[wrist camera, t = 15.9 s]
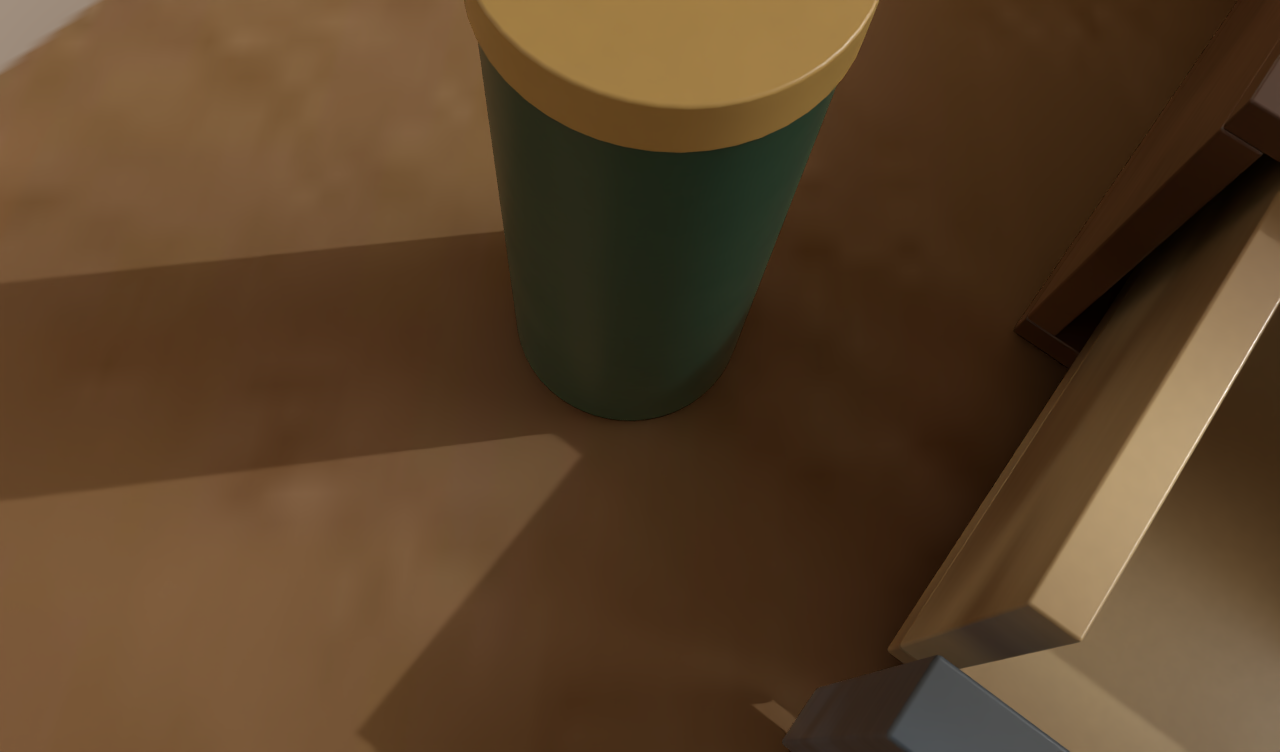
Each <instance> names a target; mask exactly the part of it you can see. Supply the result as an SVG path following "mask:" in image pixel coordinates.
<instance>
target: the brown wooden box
mask: <svg viewBox="0 0 1280 752" xmlns="http://www.w3.org/2000/svg"><path fill="white" fill-rule="evenodd" d="M1264 153H1265V154H1266V155H1268V156H1269V157H1271V158H1273V159H1274V160H1276V161H1278V162H1279V163H1280V0H1238V1H1237V3H1236V4H1235V6H1234V7H1233V9H1232V10H1231V12H1230V13H1229V15H1228V16H1227V18H1226V19H1225V20H1224V22H1223V23H1222V25H1221V26H1220V28H1219V29H1218V31H1217V32H1216V34H1215V35H1214V37H1213V38H1212V40H1211V41H1210V42H1209V44H1208V45H1207V47H1206V48H1205V50H1204V51H1203V53H1202V54H1201V56H1200V57H1199V59H1198V60H1197V61H1196V63H1195V64H1194V66H1193V67H1192V69H1191V70H1190V72H1189V73H1188V75H1187V76H1186V78H1185V79H1184V80H1183V82H1182V83H1181V85H1180V86H1179V88H1178V89H1177V91H1176V92H1175V94H1174V95H1173V97H1172V98H1171V100H1170V101H1169V102H1168V104H1167V105H1166V107H1165V108H1164V110H1163V111H1162V113H1161V114H1160V116H1159V117H1158V119H1157V120H1156V121H1155V123H1154V124H1153V126H1152V127H1151V129H1150V130H1149V132H1148V133H1147V135H1146V136H1145V138H1144V139H1143V140H1142V142H1141V143H1140V145H1139V146H1138V148H1137V149H1136V151H1135V152H1134V154H1133V155H1132V157H1131V158H1130V160H1129V161H1128V162H1127V164H1126V165H1125V167H1124V168H1123V170H1122V171H1121V173H1120V174H1119V176H1118V177H1117V179H1116V180H1115V181H1114V183H1113V184H1112V186H1111V187H1110V189H1109V190H1108V192H1107V193H1106V195H1105V196H1104V198H1103V199H1102V200H1101V202H1100V203H1099V205H1098V206H1097V208H1096V209H1095V211H1094V212H1093V214H1092V215H1091V217H1090V218H1089V220H1088V221H1087V222H1086V224H1085V225H1084V227H1083V228H1082V230H1081V231H1080V233H1079V234H1078V236H1077V237H1076V239H1075V240H1074V241H1073V243H1072V244H1071V246H1070V247H1069V249H1068V250H1067V252H1066V253H1065V255H1064V256H1063V258H1062V259H1061V260H1060V262H1059V263H1058V265H1057V266H1056V268H1055V269H1054V271H1053V272H1052V274H1051V275H1050V277H1049V278H1048V280H1047V281H1046V282H1045V284H1044V285H1043V287H1042V288H1041V290H1040V291H1039V293H1038V294H1037V296H1036V297H1035V299H1034V300H1033V301H1032V303H1031V304H1030V306H1029V307H1028V309H1027V310H1026V312H1025V313H1024V315H1023V316H1022V318H1021V319H1020V320H1019V322H1018V323H1017V325H1016V326H1015V328H1014V332H1016V333H1017V334H1019V335H1020V336H1022V337H1023V338H1025V339H1026V340H1028V341H1029V342H1031V343H1032V344H1034V345H1035V346H1036V347H1038V348H1039V349H1041V350H1042V351H1044V352H1045V353H1047V354H1048V355H1050V356H1051V357H1053V358H1054V359H1056V360H1057V361H1059V362H1060V363H1062V364H1063V365H1065V366H1066V367H1068V368H1069V369H1070V367H1071V366H1072V364H1073V363H1074V361H1075V360H1076V358H1077V357H1078V355H1079V353H1080V352H1081V350H1082V349H1083V347H1084V346H1085V344H1086V343H1087V341H1088V340H1089V338H1090V337H1091V335H1092V334H1093V332H1094V330H1095V329H1096V327H1097V326H1098V324H1099V323H1100V321H1101V320H1102V318H1103V317H1104V315H1105V314H1106V312H1107V310H1108V309H1109V307H1110V306H1111V304H1112V303H1113V301H1114V300H1115V298H1116V297H1117V295H1118V294H1119V292H1120V291H1121V289H1122V287H1123V286H1124V284H1125V283H1126V281H1127V280H1128V278H1129V277H1130V275H1131V274H1132V272H1133V271H1134V269H1135V267H1136V266H1137V264H1139V263H1140V262H1141V261H1142V260H1143V259H1144V258H1145V257H1147V256H1148V255H1149V254H1150V253H1151V252H1152V251H1153V250H1155V249H1156V248H1157V247H1158V246H1159V245H1160V244H1161V243H1163V242H1164V241H1165V240H1166V239H1167V238H1168V237H1169V236H1171V235H1172V234H1173V233H1174V232H1175V231H1176V230H1177V229H1179V228H1180V227H1181V226H1182V225H1183V224H1184V223H1185V222H1187V221H1188V220H1189V219H1190V218H1191V217H1192V216H1193V215H1195V214H1196V213H1197V212H1198V211H1199V210H1200V209H1201V208H1203V207H1204V206H1205V205H1206V204H1207V203H1208V202H1209V201H1211V200H1212V199H1213V198H1214V197H1215V196H1216V195H1217V194H1219V193H1220V192H1221V191H1222V190H1223V189H1224V188H1225V187H1227V186H1228V185H1229V184H1230V183H1231V182H1232V181H1233V180H1235V179H1236V178H1237V177H1238V176H1239V175H1240V174H1241V173H1243V172H1244V171H1245V170H1246V169H1247V168H1248V167H1250V166H1251V165H1252V164H1253V163H1254V162H1255V161H1256V160H1258V159H1259V158H1260V157H1261V156H1262V155H1263V154H1264Z"/></svg>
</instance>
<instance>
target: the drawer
mask: <svg viewBox="0 0 1280 752" xmlns="http://www.w3.org/2000/svg"><path fill="white" fill-rule="evenodd" d="M888 652H889V653H890V654H892V655H893V656H894V657H896V658H897V659H898V660H900V661H901V662H902V663H904V664H902V665H898V666H894V667H891V668H887V669H884V670H880V671H876V672H873V673H869V674H866V675H862V676H858V677H855V678H851V679H848V680H844V681H840V682H837V683H833V684H830V685H826V686H822V687H819V688H817V689H816V690H815V692H814V693H813V695H812V696H811V698H810V699H809V701H808V702H807V704H806V705H805V707H804V708H803V710H802V711H801V713H800V714H799V716H798V717H797V719H796V720H795V722H794V723H793V725H792V726H791V728H790V729H789V731H788V732H787V734H786V735H785V737H784V738H783V741H782V743H783V745H784V746H785V747H787V748H788V749H789V750H790V751H792V752H1280V163H1279V162H1278V161H1276V160H1274V159H1273V158H1271V157H1269V156H1268V155H1266V154H1265V153H1264V154H1263V155H1262V156H1261V157H1260V158H1259V159H1258V160H1256V161H1255V162H1254V163H1253V164H1252V165H1251V166H1250V167H1248V168H1247V169H1246V170H1245V171H1244V172H1243V173H1241V174H1240V175H1239V176H1238V177H1237V178H1236V179H1235V180H1233V181H1232V182H1231V183H1230V184H1229V185H1228V186H1227V187H1225V188H1224V189H1223V190H1222V191H1221V192H1220V193H1219V194H1217V195H1216V196H1215V197H1214V198H1213V199H1212V200H1211V201H1209V202H1208V203H1207V204H1206V205H1205V206H1204V207H1203V208H1201V209H1200V210H1199V211H1198V212H1197V213H1196V214H1195V215H1193V216H1192V217H1191V218H1190V219H1189V220H1188V221H1187V222H1185V223H1184V224H1183V225H1182V226H1181V227H1180V228H1179V229H1177V230H1176V231H1175V232H1174V233H1173V234H1172V235H1171V236H1169V237H1168V238H1167V239H1166V240H1165V241H1164V242H1163V243H1161V244H1160V245H1159V246H1158V247H1157V248H1156V249H1155V250H1153V251H1152V252H1151V253H1150V254H1149V255H1148V256H1147V257H1145V258H1144V259H1143V260H1142V261H1141V262H1140V263H1139V264H1137V266H1136V267H1135V269H1134V271H1133V272H1132V274H1131V275H1130V277H1129V278H1128V280H1127V281H1126V283H1125V284H1124V286H1123V287H1122V289H1121V291H1120V292H1119V294H1118V295H1117V297H1116V298H1115V300H1114V301H1113V303H1112V304H1111V306H1110V307H1109V309H1108V310H1107V312H1106V314H1105V315H1104V317H1103V318H1102V320H1101V321H1100V323H1099V324H1098V326H1097V327H1096V329H1095V330H1094V332H1093V334H1092V335H1091V337H1090V338H1089V340H1088V341H1087V343H1086V344H1085V346H1084V347H1083V349H1082V350H1081V352H1080V353H1079V355H1078V357H1077V358H1076V360H1075V361H1074V363H1073V364H1072V366H1071V367H1070V369H1069V370H1068V372H1067V373H1066V375H1065V377H1064V378H1063V380H1062V381H1061V383H1060V384H1059V386H1058V387H1057V389H1056V390H1055V392H1054V393H1053V395H1052V396H1051V398H1050V400H1049V401H1048V403H1047V404H1046V406H1045V407H1044V409H1043V410H1042V412H1041V413H1040V415H1039V416H1038V418H1037V420H1036V421H1035V423H1034V424H1033V426H1032V427H1031V429H1030V430H1029V432H1028V433H1027V435H1026V436H1025V438H1024V439H1023V441H1022V443H1021V444H1020V446H1019V447H1018V449H1017V450H1016V452H1015V453H1014V455H1013V456H1012V458H1011V459H1010V461H1009V463H1008V464H1007V466H1006V467H1005V469H1004V470H1003V472H1002V473H1001V475H1000V476H999V478H998V479H997V481H996V482H995V484H994V486H993V487H992V489H991V490H990V492H989V493H988V495H987V496H986V498H985V499H984V501H983V502H982V504H981V506H980V507H979V509H978V510H977V512H976V513H975V515H974V516H973V518H972V519H971V521H970V522H969V524H968V525H967V527H966V529H965V530H964V532H963V533H962V535H961V536H960V538H959V539H958V541H957V542H956V544H955V545H954V547H953V549H952V550H951V552H950V553H949V555H948V556H947V558H946V559H945V561H944V562H943V564H942V565H941V567H940V568H939V570H938V572H937V573H936V575H935V576H934V578H933V579H932V581H931V582H930V584H929V585H928V587H927V588H926V590H925V592H924V593H923V595H922V596H921V598H920V599H919V601H918V602H917V604H916V605H915V607H914V608H913V610H912V611H911V613H910V615H909V616H908V618H907V619H906V621H905V622H904V624H903V625H902V627H901V628H900V630H899V631H898V633H897V635H896V636H895V638H894V639H893V641H892V642H891V644H890V645H889V647H888Z"/></svg>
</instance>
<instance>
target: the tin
mask: <svg viewBox="0 0 1280 752" xmlns="http://www.w3.org/2000/svg"><path fill="white" fill-rule="evenodd" d="M464 3H465V7H466V12H467V16H468V19H469V22H470V24H471V27H472V29H473V32H474V34H475V36H476V39H477V41H478V45H479V53H480V60H481V67H482V74H483V82H484V89H485V96H486V103H487V111H488V118H489V125H490V132H491V139H492V147H493V154H494V161H495V168H496V176H497V183H498V190H499V197H500V205H501V212H502V219H503V226H504V234H505V241H506V248H507V255H508V263H509V270H510V277H511V284H512V292H513V299H514V306H515V313H516V321H517V328H518V333H519V338H520V342H521V345H522V348H523V351H524V353H525V356H526V358H527V360H528V362H529V363H530V365H531V367H532V369H533V370H534V372H535V373H536V374H537V376H538V377H539V378H540V380H541V381H542V382H543V383H544V384H545V385H546V386H547V387H548V388H549V389H550V390H551V391H552V392H553V393H555V394H556V395H557V396H558V397H560V398H561V399H562V400H564V401H565V402H567V403H569V404H570V405H572V406H574V407H575V408H578V409H580V410H582V411H585V412H587V413H589V414H593V415H596V416H600V417H603V418H609V419H615V420H644V419H651V418H656V417H660V416H664V415H667V414H669V413H672V412H675V411H677V410H679V409H681V408H683V407H685V406H687V405H689V404H691V403H692V402H694V401H695V400H696V399H698V398H699V397H701V396H702V395H703V394H704V393H705V392H706V391H707V390H708V389H710V388H711V387H712V386H713V384H714V383H715V382H716V381H717V379H718V378H719V377H720V376H721V374H722V373H723V371H724V369H725V368H726V366H727V364H728V362H729V360H730V358H731V355H732V353H733V351H734V348H735V346H736V343H737V340H738V338H739V335H740V333H741V330H742V328H743V325H744V322H745V320H746V317H747V315H748V312H749V310H750V307H751V304H752V302H753V299H754V297H755V294H756V292H757V289H758V286H759V284H760V281H761V279H762V276H763V274H764V271H765V268H766V266H767V263H768V261H769V258H770V256H771V253H772V250H773V248H774V245H775V243H776V240H777V238H778V235H779V232H780V230H781V227H782V225H783V222H784V220H785V217H786V214H787V212H788V209H789V207H790V204H791V202H792V199H793V196H794V194H795V191H796V189H797V186H798V184H799V181H800V178H801V176H802V173H803V171H804V168H805V166H806V163H807V160H808V158H809V155H810V153H811V150H812V148H813V145H814V142H815V140H816V137H817V135H818V132H819V130H820V127H821V124H822V122H823V119H824V117H825V114H826V112H827V109H828V106H829V104H830V101H831V99H832V96H833V94H834V91H835V88H836V86H837V84H838V83H839V82H840V81H841V80H842V79H843V77H844V76H845V74H846V73H847V71H848V70H849V68H850V66H851V65H852V63H853V62H854V60H855V59H856V56H857V54H858V52H859V49H860V47H861V45H862V42H863V40H864V38H865V35H866V33H867V30H868V28H869V25H870V23H871V20H872V18H873V15H874V13H875V10H876V8H877V5H878V3H879V0H464Z"/></svg>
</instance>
